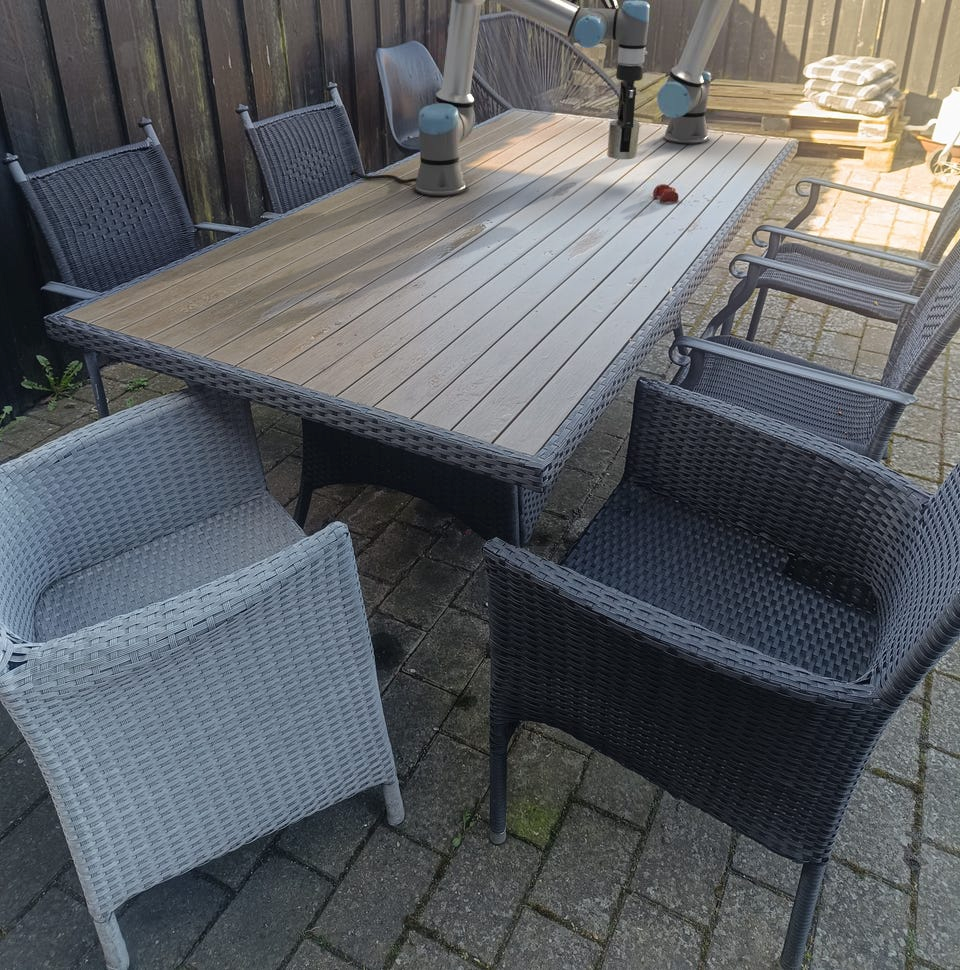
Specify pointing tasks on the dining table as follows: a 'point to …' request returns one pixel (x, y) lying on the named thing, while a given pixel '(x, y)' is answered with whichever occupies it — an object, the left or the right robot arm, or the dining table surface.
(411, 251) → the dining table surface
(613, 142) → the tin
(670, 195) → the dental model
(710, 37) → the right robot arm
